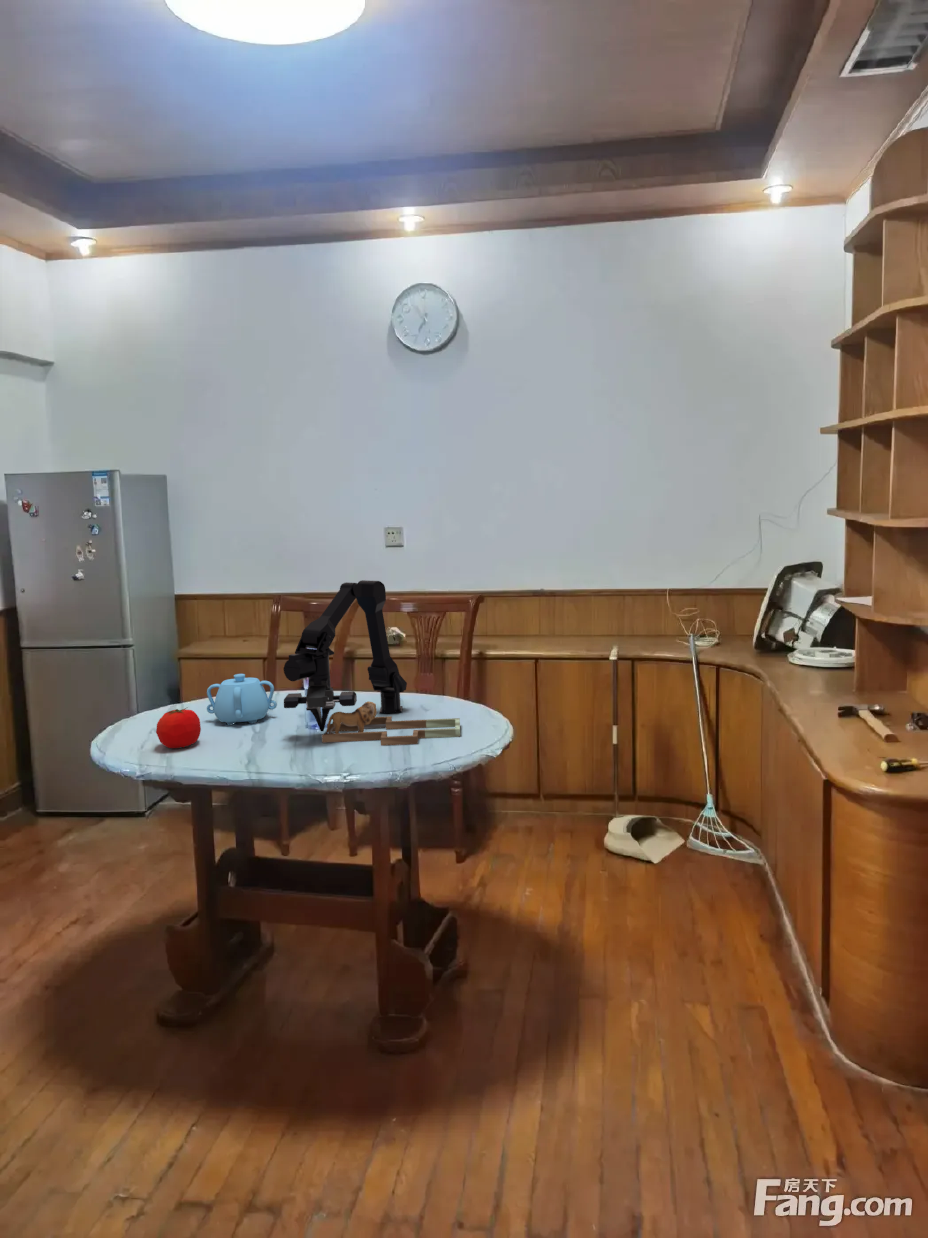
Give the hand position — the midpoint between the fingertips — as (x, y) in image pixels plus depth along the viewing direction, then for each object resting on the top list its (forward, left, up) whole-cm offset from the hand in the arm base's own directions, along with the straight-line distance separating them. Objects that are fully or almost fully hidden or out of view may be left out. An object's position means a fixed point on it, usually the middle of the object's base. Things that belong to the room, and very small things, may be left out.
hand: (322, 731), depth 250 cm
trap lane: (0, +19, -2) cm, 19 cm away
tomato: (+3, -37, -2) cm, 37 cm away
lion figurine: (0, +8, -2) cm, 8 cm away
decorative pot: (-22, -26, -2) cm, 34 cm away
